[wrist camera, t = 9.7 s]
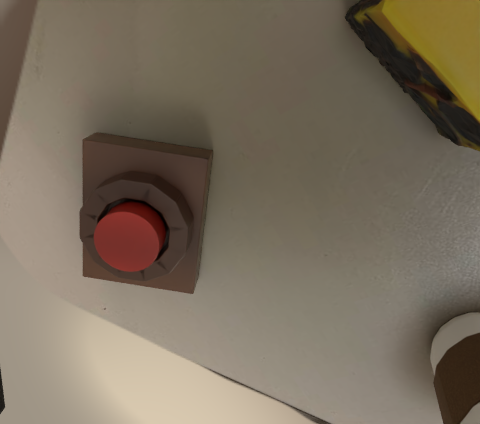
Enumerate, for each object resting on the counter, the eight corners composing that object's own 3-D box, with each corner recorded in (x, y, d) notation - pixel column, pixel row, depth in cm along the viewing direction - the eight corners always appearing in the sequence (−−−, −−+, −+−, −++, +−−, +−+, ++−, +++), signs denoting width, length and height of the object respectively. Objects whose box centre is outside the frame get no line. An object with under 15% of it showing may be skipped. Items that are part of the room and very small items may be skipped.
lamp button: (104, 196, 27) (93, 206, 25) (168, 206, 27) (161, 217, 25) (103, 253, 28) (93, 266, 27) (163, 262, 28) (157, 276, 26)
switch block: (95, 132, 29) (69, 145, 25) (213, 150, 29) (204, 166, 25) (94, 261, 33) (71, 290, 29) (198, 278, 33) (188, 309, 29)
